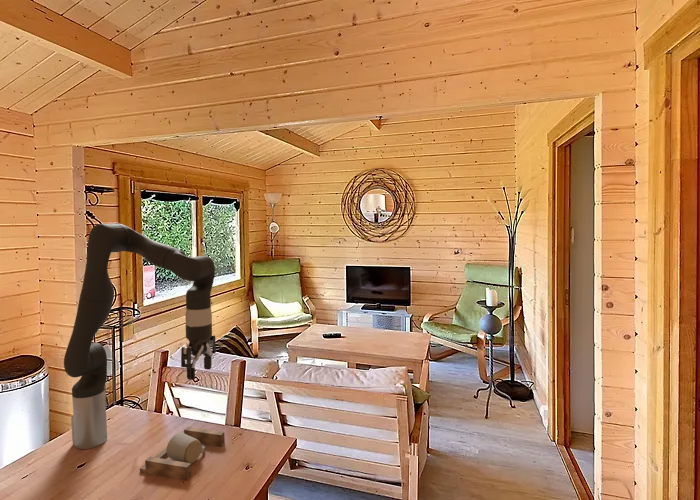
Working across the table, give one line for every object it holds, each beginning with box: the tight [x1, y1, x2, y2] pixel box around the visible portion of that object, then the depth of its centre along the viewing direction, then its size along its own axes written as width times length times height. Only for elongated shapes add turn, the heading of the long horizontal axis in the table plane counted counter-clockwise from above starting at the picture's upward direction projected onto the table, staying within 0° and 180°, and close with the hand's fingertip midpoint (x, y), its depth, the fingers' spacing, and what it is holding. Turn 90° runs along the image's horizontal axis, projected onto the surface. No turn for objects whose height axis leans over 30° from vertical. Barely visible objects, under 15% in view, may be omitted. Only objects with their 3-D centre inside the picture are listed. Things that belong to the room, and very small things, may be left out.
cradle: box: [139, 426, 226, 482], centre depth 129 cm, size 16×20×4 cm
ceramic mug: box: [166, 432, 206, 464], centre depth 129 cm, size 11×8×8 cm
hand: (199, 374), depth 126 cm, fingers open, 8 cm apart
